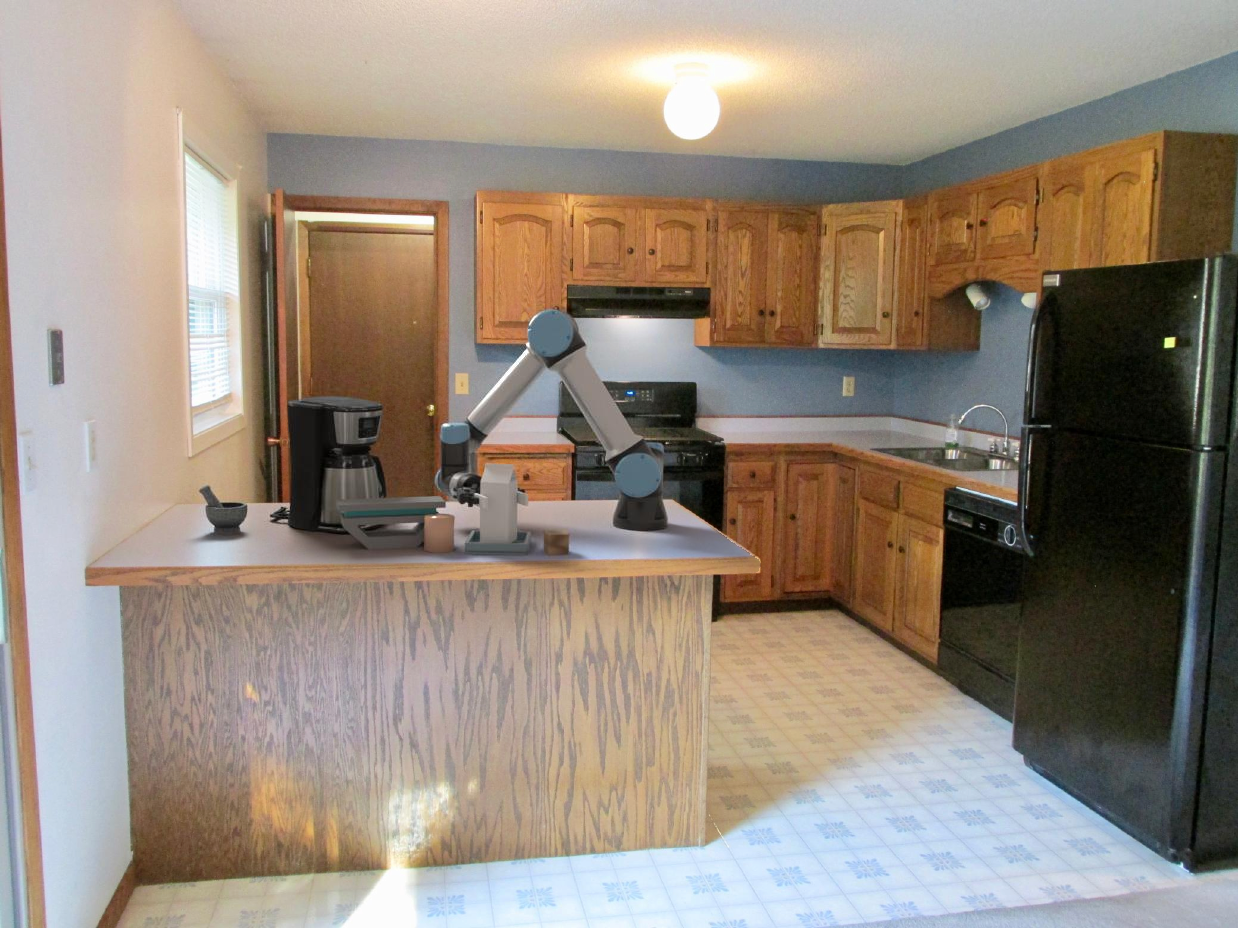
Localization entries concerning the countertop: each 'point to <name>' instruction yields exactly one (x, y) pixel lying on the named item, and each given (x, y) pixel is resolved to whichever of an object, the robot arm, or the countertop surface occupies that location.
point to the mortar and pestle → (223, 513)
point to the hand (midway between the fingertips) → (506, 501)
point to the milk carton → (499, 504)
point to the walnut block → (556, 542)
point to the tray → (498, 545)
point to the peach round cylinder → (439, 533)
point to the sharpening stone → (388, 519)
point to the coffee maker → (331, 460)
